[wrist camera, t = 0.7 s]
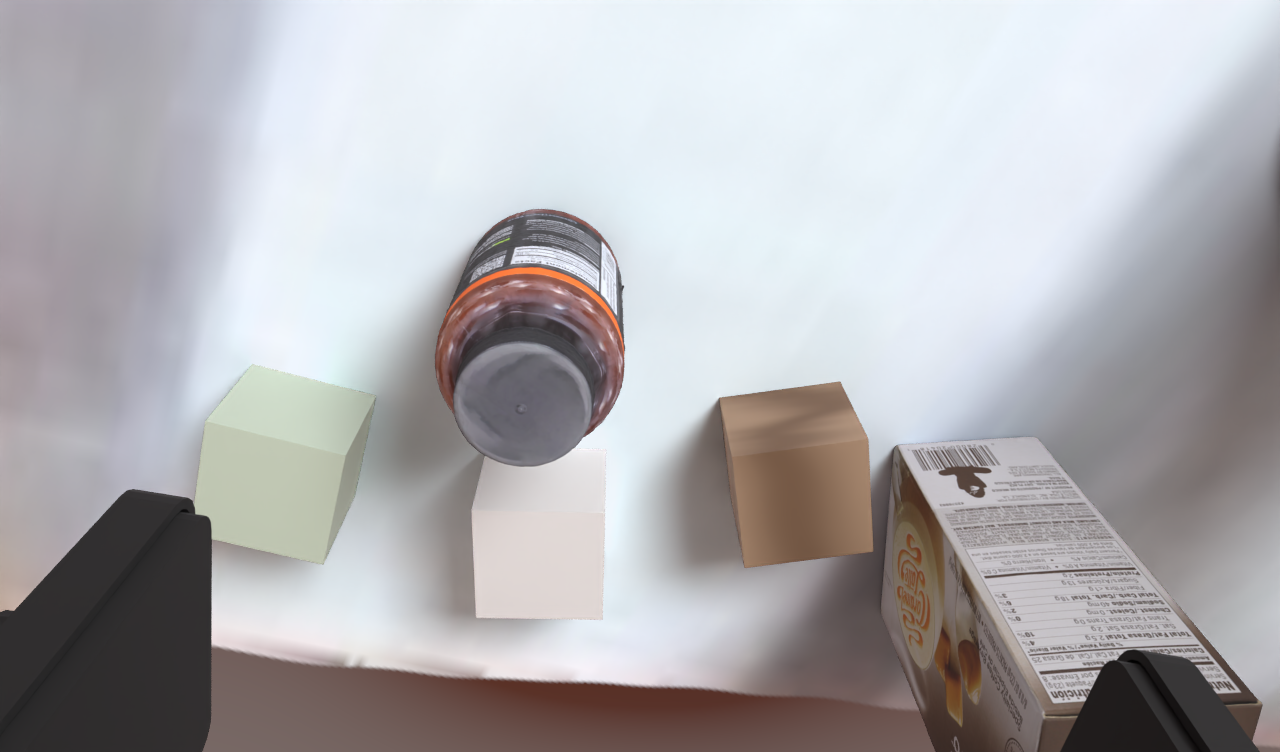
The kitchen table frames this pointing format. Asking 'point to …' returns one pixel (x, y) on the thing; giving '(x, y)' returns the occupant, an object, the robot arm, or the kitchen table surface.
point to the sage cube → (282, 462)
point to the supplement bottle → (533, 338)
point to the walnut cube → (797, 474)
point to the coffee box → (1018, 597)
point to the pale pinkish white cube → (540, 538)
